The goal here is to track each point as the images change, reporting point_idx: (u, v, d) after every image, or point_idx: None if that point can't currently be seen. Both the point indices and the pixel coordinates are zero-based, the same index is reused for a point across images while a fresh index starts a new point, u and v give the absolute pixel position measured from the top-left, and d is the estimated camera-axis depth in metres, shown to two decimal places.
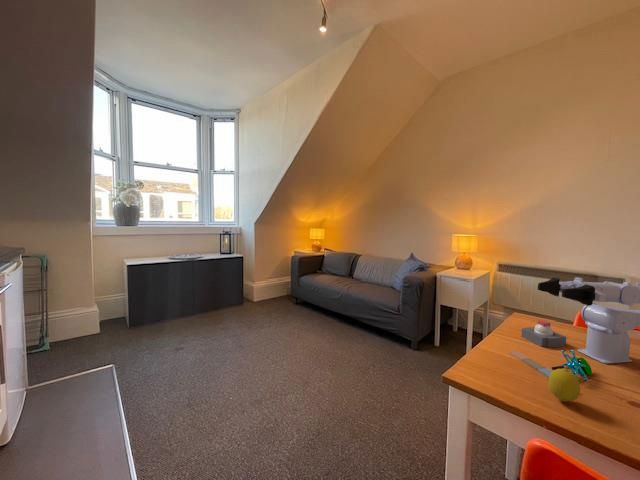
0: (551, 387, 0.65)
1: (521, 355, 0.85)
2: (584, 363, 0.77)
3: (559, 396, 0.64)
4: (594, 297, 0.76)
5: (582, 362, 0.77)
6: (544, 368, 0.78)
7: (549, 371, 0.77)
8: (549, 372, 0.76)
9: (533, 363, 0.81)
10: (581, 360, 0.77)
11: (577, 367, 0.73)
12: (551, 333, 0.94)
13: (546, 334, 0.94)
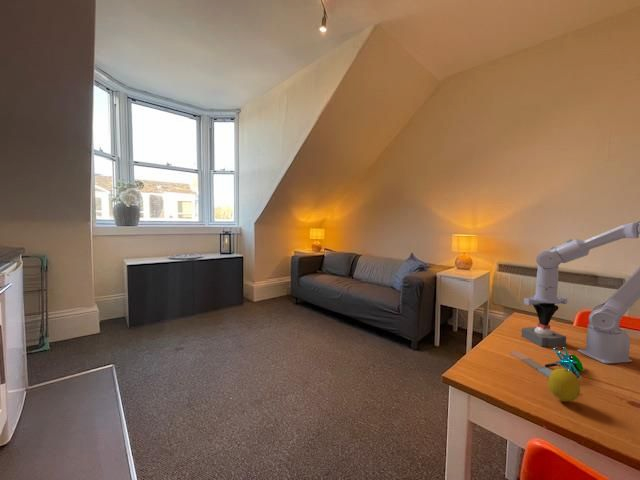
0: (551, 387, 0.65)
1: (521, 355, 0.85)
2: (576, 360, 0.79)
3: (559, 396, 0.64)
4: None
5: (574, 359, 0.79)
6: (544, 368, 0.78)
7: (549, 371, 0.77)
8: (549, 372, 0.76)
9: (533, 363, 0.81)
10: (573, 357, 0.79)
11: (570, 364, 0.75)
12: None
13: None
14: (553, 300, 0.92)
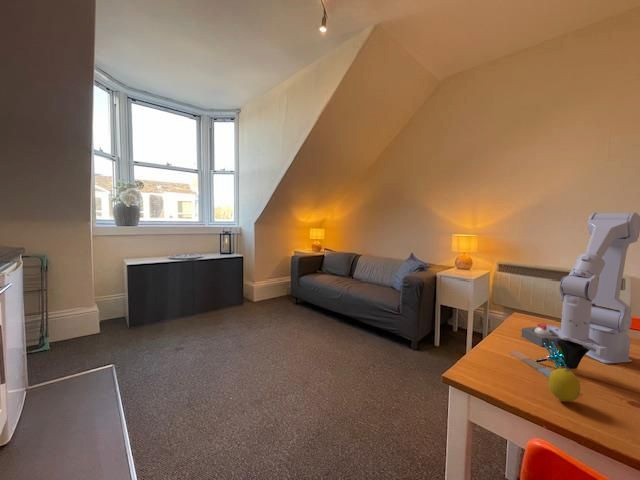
0: (551, 387, 0.65)
1: (521, 355, 0.85)
2: (562, 353, 0.82)
3: (559, 396, 0.64)
4: None
5: (560, 353, 0.82)
6: (544, 368, 0.78)
7: (549, 371, 0.77)
8: (549, 372, 0.76)
9: (533, 363, 0.81)
10: (559, 351, 0.82)
11: (560, 358, 0.78)
12: None
13: None
14: None
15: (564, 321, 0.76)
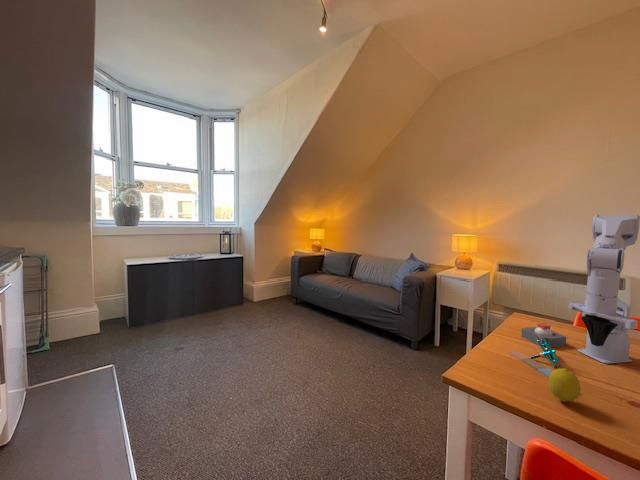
0: (551, 387, 0.65)
1: (521, 355, 0.85)
2: (551, 349, 0.85)
3: (559, 396, 0.64)
4: None
5: (550, 348, 0.85)
6: (544, 368, 0.78)
7: (549, 371, 0.77)
8: (549, 372, 0.76)
9: (533, 363, 0.81)
10: (549, 346, 0.85)
11: (553, 354, 0.80)
12: None
13: None
14: None
15: (589, 295, 0.72)
